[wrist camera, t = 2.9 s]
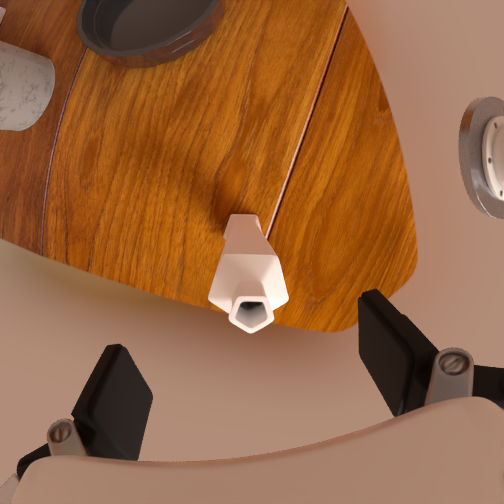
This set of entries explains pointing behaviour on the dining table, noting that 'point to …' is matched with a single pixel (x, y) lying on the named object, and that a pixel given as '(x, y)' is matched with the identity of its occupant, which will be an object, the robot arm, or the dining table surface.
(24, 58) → the marbled tin can
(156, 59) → the bowl
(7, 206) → the dining table surface
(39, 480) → the robot arm
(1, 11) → the tea box
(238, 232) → the white faceted vase
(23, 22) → the dining table surface
